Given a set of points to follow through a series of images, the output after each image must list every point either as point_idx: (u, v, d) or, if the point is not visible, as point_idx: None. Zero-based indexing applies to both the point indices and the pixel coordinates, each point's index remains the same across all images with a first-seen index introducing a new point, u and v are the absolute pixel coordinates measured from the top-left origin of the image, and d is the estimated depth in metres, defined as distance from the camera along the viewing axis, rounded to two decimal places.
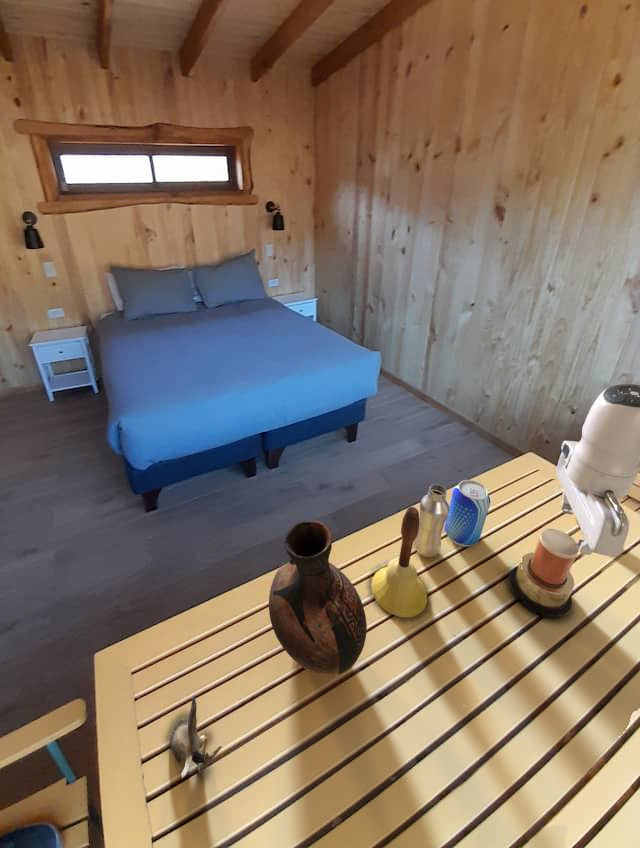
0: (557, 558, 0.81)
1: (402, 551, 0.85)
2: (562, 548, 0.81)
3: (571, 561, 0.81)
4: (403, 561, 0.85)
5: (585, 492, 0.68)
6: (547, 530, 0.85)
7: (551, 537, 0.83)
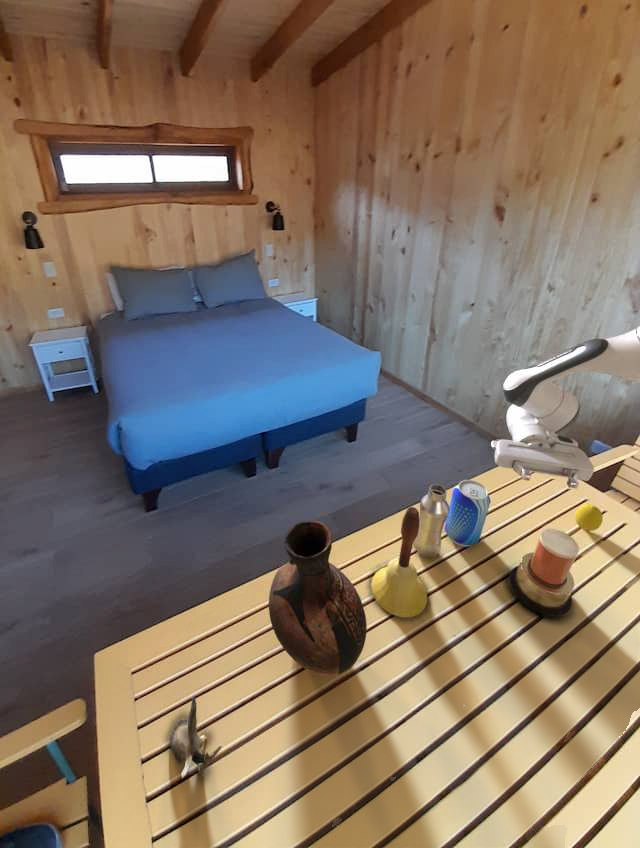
0: (557, 558, 0.81)
1: (402, 551, 0.85)
2: (562, 548, 0.81)
3: (571, 561, 0.81)
4: (403, 561, 0.85)
5: None
6: (547, 530, 0.85)
7: (551, 537, 0.83)
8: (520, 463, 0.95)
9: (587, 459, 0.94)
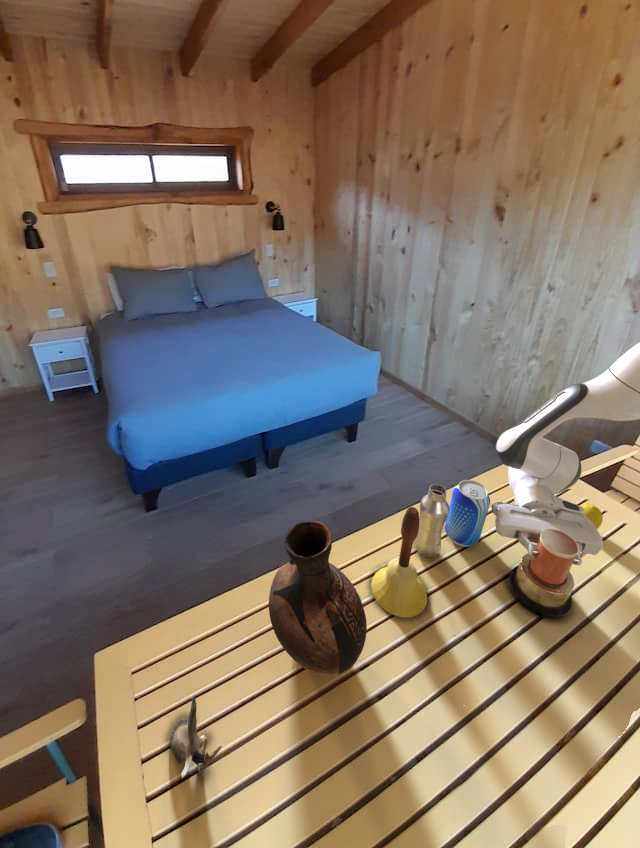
0: (557, 558, 0.81)
1: (402, 551, 0.85)
2: (562, 548, 0.81)
3: (571, 561, 0.81)
4: (403, 561, 0.85)
5: None
6: (547, 530, 0.85)
7: (551, 537, 0.83)
8: (526, 535, 0.88)
9: (595, 531, 0.87)
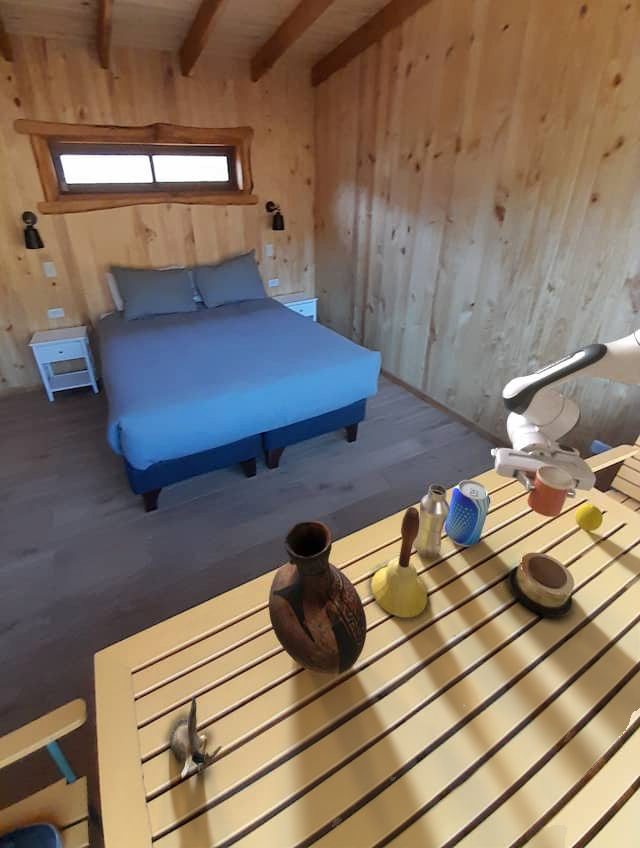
0: (553, 489, 0.86)
1: (402, 551, 0.85)
2: (557, 481, 0.87)
3: (566, 493, 0.86)
4: (403, 561, 0.85)
5: None
6: (543, 467, 0.91)
7: (547, 472, 0.89)
8: (524, 473, 0.93)
9: (589, 469, 0.92)
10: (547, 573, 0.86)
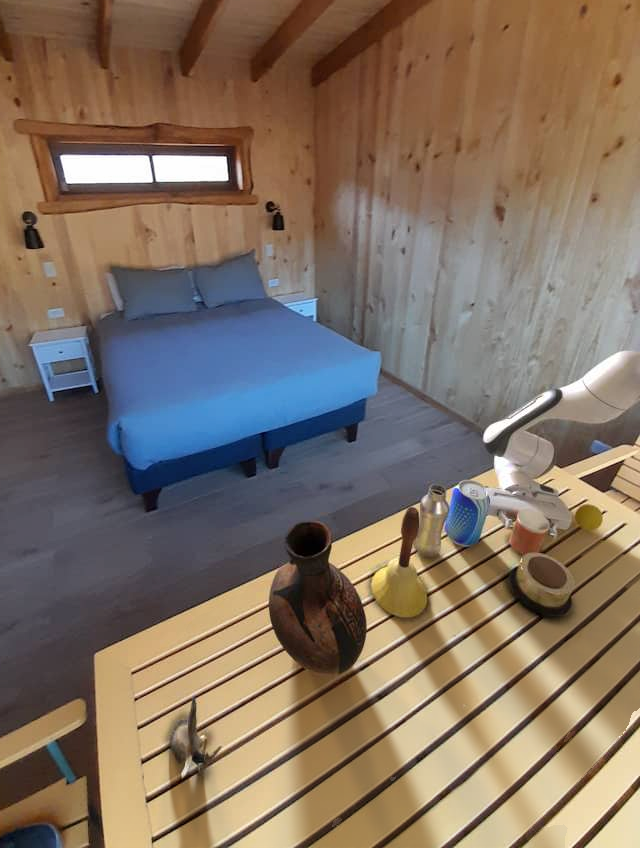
0: (531, 533, 0.95)
1: (402, 551, 0.85)
2: (535, 525, 0.96)
3: (542, 536, 0.95)
4: (403, 561, 0.85)
5: None
6: (523, 510, 1.00)
7: (526, 516, 0.98)
8: (504, 512, 1.02)
9: (566, 509, 1.01)
10: (547, 573, 0.86)
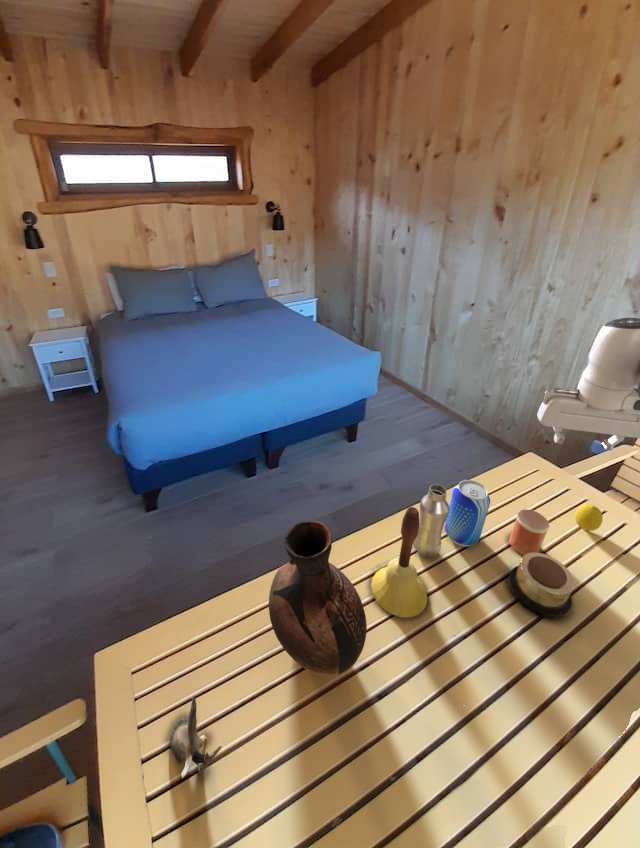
0: (531, 533, 0.95)
1: (402, 551, 0.85)
2: (535, 525, 0.96)
3: (542, 536, 0.95)
4: (403, 561, 0.85)
5: None
6: (523, 510, 1.00)
7: (526, 516, 0.98)
8: (560, 430, 0.89)
9: None
10: (547, 573, 0.86)
